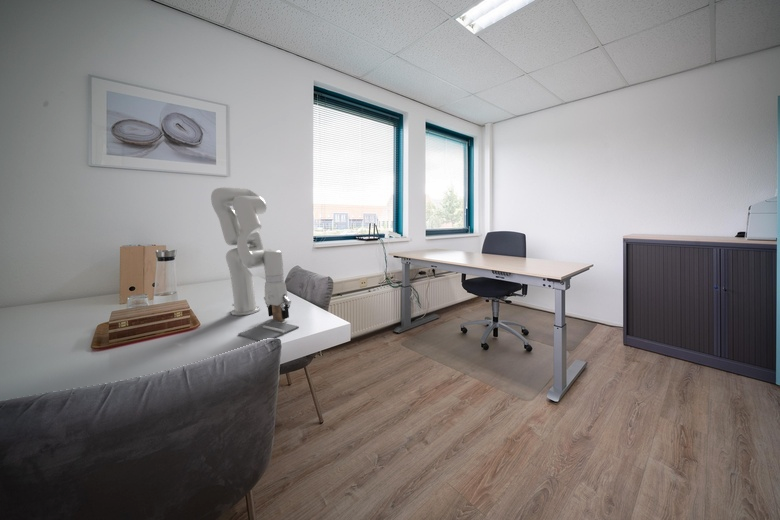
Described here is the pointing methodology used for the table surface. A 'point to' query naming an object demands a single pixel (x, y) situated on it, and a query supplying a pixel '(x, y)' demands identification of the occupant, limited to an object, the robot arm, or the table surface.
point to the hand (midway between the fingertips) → (278, 316)
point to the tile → (277, 313)
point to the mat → (268, 330)
